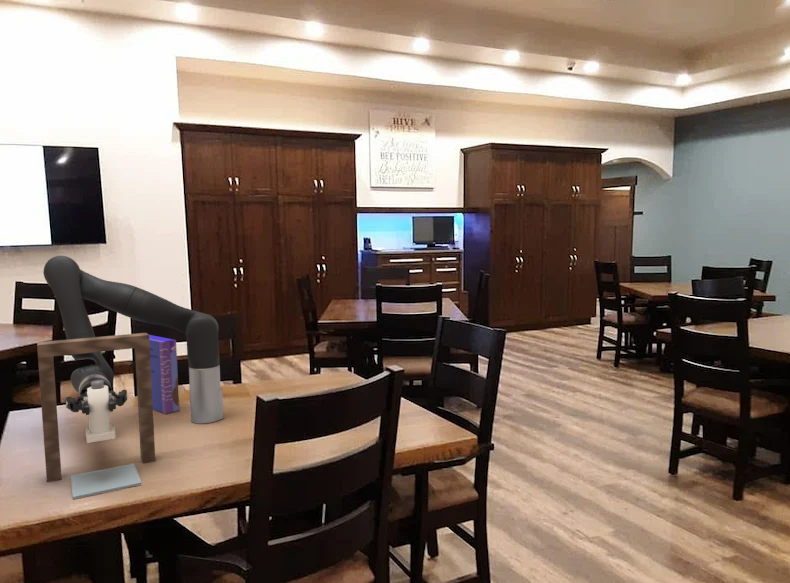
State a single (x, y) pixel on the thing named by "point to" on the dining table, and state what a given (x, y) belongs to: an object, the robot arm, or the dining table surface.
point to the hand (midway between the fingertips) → (99, 409)
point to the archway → (88, 346)
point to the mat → (104, 480)
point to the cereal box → (164, 374)
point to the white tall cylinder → (99, 413)
